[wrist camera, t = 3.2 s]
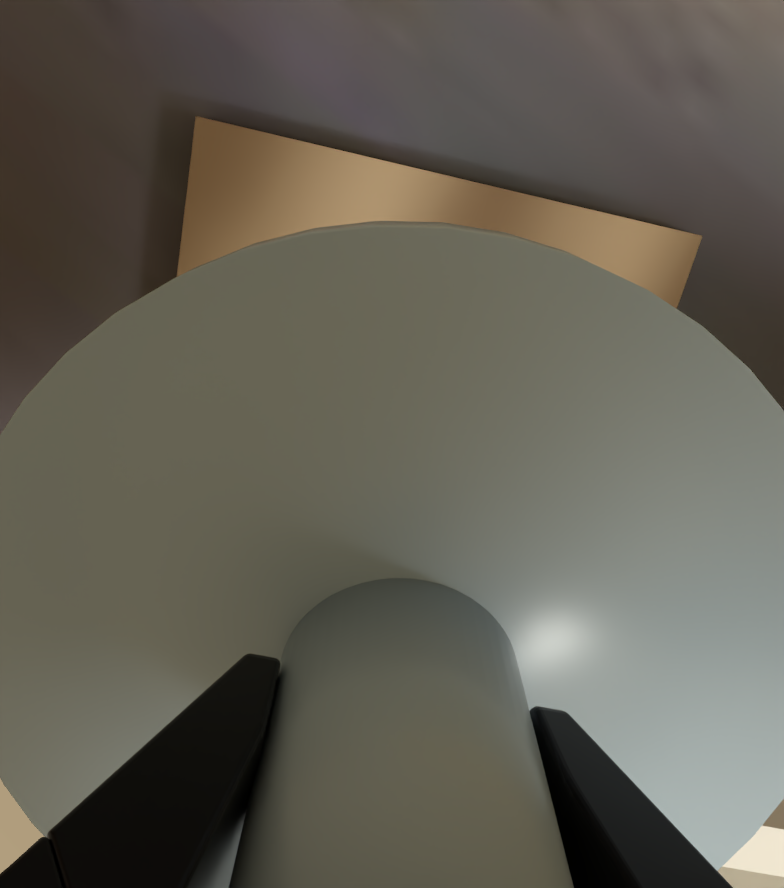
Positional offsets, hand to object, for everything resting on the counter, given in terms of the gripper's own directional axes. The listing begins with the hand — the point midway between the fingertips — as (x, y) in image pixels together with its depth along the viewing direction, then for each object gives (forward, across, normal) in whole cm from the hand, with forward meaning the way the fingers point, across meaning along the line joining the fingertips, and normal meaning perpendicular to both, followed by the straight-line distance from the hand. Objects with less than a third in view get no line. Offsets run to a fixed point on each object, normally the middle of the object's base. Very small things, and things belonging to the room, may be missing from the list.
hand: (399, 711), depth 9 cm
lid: (+2, 0, 0) cm, 2 cm away
